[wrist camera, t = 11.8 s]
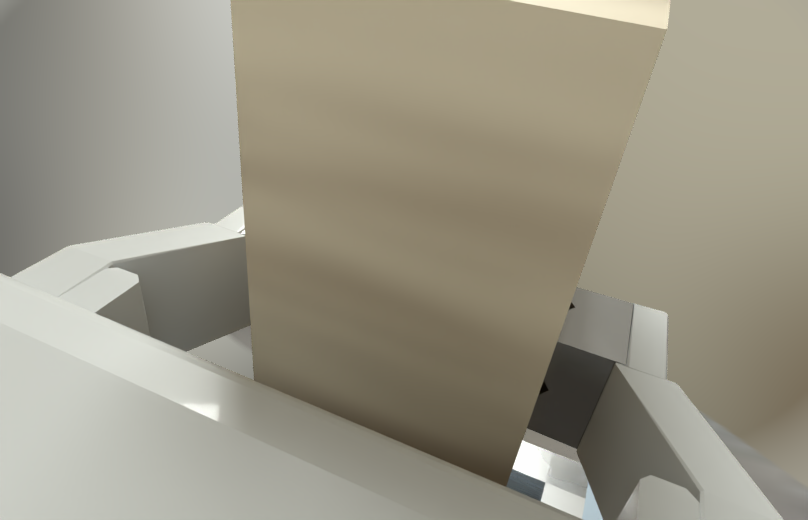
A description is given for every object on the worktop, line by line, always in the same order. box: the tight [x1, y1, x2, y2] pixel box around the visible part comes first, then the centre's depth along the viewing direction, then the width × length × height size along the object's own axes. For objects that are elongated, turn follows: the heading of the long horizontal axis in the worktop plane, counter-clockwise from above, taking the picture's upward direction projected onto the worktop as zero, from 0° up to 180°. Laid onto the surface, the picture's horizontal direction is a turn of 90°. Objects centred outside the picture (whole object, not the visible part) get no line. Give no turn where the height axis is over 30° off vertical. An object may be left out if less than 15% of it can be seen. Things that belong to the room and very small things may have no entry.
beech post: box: [231, 0, 671, 487], centre depth 9 cm, size 4×4×11 cm
